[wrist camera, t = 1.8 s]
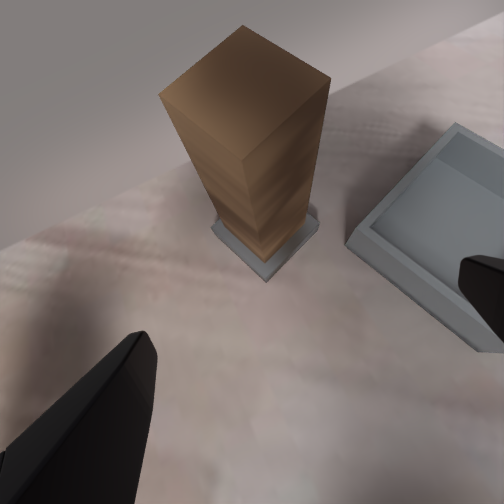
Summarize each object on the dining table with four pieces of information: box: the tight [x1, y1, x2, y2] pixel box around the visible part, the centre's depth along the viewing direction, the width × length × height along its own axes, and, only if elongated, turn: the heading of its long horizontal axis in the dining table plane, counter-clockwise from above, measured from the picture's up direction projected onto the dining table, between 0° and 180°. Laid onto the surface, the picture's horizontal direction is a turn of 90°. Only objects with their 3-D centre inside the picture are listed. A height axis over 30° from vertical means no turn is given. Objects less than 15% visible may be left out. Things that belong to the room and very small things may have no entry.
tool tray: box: [345, 122, 504, 353], centre depth 20 cm, size 11×11×4 cm
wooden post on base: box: [158, 25, 331, 283], centre depth 17 cm, size 6×6×14 cm
